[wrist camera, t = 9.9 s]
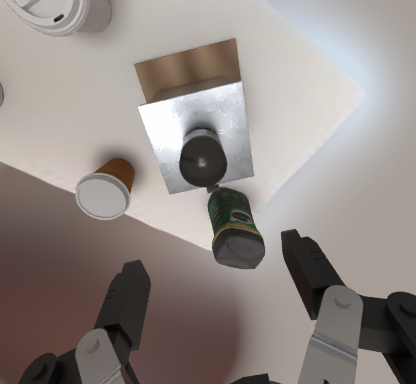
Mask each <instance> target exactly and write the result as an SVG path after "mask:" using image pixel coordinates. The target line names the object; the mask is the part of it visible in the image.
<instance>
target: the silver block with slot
mask: <svg viewBox="0 0 416 384" xmlns="http://www.w3.org/2000/svg"><path fill="white" fill-rule="evenodd" d="M138 108H139V110H140V113H141V116H142V119H143V122H144V124H145V127H146V130H147V133H148V136H149V138H150V141H151V144H152V147H153V150H154V152H155V155H156V158H157V161H158V164H159V166H160V169H161V172H162V175H163V177H164V180H165V183H166V186H167V189H168V191H169V194H175V193H179V192H184V191H188V190H193V189H197V188H202V187H196V186H193V185H191V184H189V183H188V182H187V181H186V180H185V179H184V178H183V177H182V175H181V173H180V169H179V161H180V154H181V147H182V143H183V140H184V139H185V137H186V136H187V135H188V134H189V133H191V132H192V131H195V130H199V129H205V130H209V131H211V132H213V133H215V134H216V135H217V136H218V138H219V139H220V141H221V144H222V147H223V150H224V153H225V156H226V159H227V170H226V173H225V175H224V177H223V178H222V179H221V180H220V181H219V182H218V183H216V184H215V185H212V186H209V187H206V188H207V192H208V193H211V192H216V191H220V188H219V184H220V183H225V182H229V181H234V180H239V179H243V178H248V177H252V176H254V172H253V164H252V156H251V148H250V141H249V133H248V125H247V118H246V110H245V102H244V95H243V87H242V81H240V80H239V81H234V80H232V79H230V78H228V77H227V76H225V75H221V76H217V77H213V78H209V79H205V80H201V81H197V82H193V83H189V84H185V85H181V86H177V87H173V88H169V89H165V90H161V91H159V92H158V93H157V94H156V95H154V96H153V97H152V98H151V99H150V100H149V101H148V102H147V103H146V104H142V105H140V106H139V107H138Z"/></svg>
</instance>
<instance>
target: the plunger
mask: <svg viewBox="0 0 416 384" xmlns="http://www.w3.org/2000/svg"><path fill="white" fill-rule="evenodd" d="M179 169H180V173H181V175H182V177H183V178H184V179H185V180H186V181H187V182H188V183H189V184H191V185H193V186H196V187H209V186H212V185H215V184H216V183H218V182H219V181H220V180H221V179H222V178H223V177H224V175H225V173H226V170H227V159H226V156H225V153H224V150H223V147H222V144H221V141H220V139H219V138H218V136H217V135H216V134H215V133H213V132H211V131H209V130H205V129H199V130H195V131H192V132H191V133H189V134H188V135H187V136H186V137H185V139H184V140H183V143H182V147H181V154H180V161H179Z"/></svg>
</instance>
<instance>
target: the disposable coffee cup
mask: <svg viewBox="0 0 416 384" xmlns="http://www.w3.org/2000/svg"><path fill="white" fill-rule="evenodd" d="M133 179H134V169H133V167H132V166H131V165H130V164H129V163H128V162H127V161H125V160H122V159H113V160H111V161H109V162H108V163H106V164H105V165H104V166H102V167H101V168H99V169H98V170H97V171H95V172H94V173H92V174H89V175H86V176H85V177H83V178H82V179H81V180H80V181H79V182H78V184H77V186H76V201H77V204H78V205H79V207H80V208H81V209H82V210H83V211H84V212H85V213H86V214H88V215H90V216H91V217H93V218H96V219H101V220H110V219H114V218H117V217H118V216H120V215H122V214H123V213H125V212H126V211H127V209H128V208H129V205H130V192H131V188H132V183H133Z"/></svg>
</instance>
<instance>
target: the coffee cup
mask: <svg viewBox="0 0 416 384" xmlns="http://www.w3.org/2000/svg"><path fill="white" fill-rule="evenodd" d="M5 1H6V2H7V4H8V5H9V6H10V8H11V9H12V10H13V11H14V12H15V13H16V15H17V16H18V17H19V18H20V19H22V20H23V21H24V22H25V23H26V24H28V25H29V26H31V27H32V28H34V29H35V30H37V31H39V32H41V33H43V34H46V35H49V36H55V37H62V36H67V35H70V34H73V33H74V32H99V31H102V30H104V29H105V28H106V27H107V26H108V24H109V22H110V19H111V6H110V2H109V0H5Z"/></svg>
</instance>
